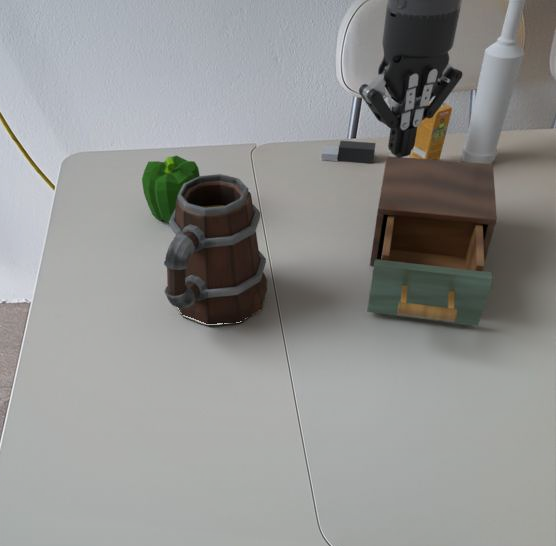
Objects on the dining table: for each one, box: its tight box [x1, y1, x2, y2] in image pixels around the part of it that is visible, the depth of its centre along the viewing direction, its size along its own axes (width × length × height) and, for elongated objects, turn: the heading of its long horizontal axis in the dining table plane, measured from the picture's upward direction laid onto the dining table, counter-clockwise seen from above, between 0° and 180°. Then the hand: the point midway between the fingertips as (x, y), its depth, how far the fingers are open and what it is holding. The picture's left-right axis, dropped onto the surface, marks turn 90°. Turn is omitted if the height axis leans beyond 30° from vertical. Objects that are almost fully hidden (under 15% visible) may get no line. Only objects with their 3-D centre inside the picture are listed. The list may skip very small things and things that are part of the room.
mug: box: [163, 173, 268, 324], centre depth 75 cm, size 16×12×15 cm
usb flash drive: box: [321, 140, 376, 164], centre depth 105 cm, size 8×3×2 cm, turn 74°
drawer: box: [366, 215, 493, 327], centre depth 76 cm, size 17×12×7 cm
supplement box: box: [410, 101, 453, 160], centre depth 99 cm, size 3×3×10 cm
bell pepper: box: [141, 155, 201, 224], centre depth 93 cm, size 8×8×10 cm
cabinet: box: [369, 155, 498, 267], centre depth 85 cm, size 14×14×9 cm
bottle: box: [461, 0, 527, 164], centre depth 94 cm, size 5×5×25 cm
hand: (399, 154), depth 80 cm, fingers closed
